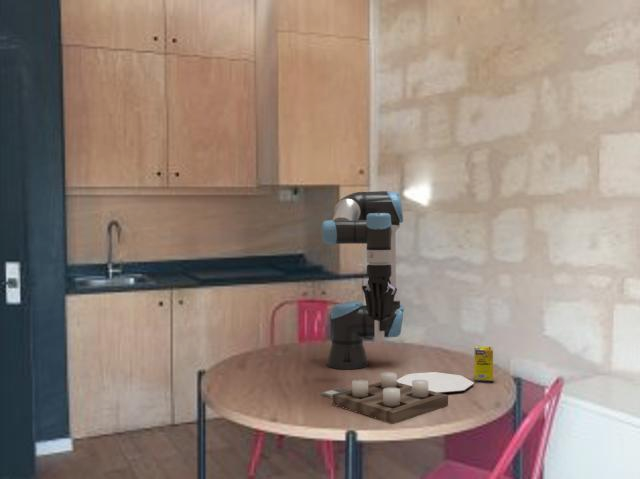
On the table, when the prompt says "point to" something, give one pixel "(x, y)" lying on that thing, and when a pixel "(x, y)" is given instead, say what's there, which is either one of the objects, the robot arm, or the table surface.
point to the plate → (439, 381)
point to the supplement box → (483, 364)
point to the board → (392, 414)
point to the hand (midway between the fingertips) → (379, 341)
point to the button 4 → (419, 388)
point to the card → (334, 391)
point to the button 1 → (360, 388)
